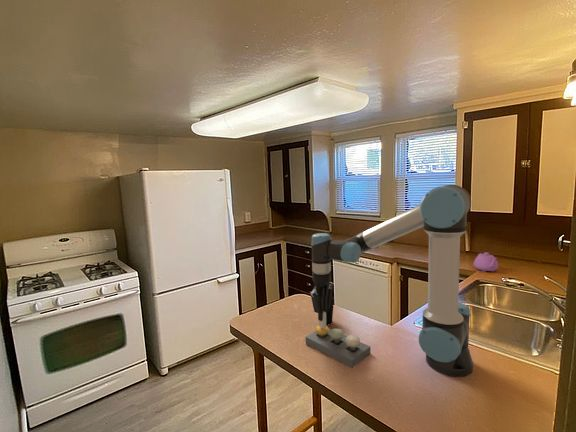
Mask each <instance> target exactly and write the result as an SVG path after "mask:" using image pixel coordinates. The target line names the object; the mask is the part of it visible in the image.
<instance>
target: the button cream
mask: <svg viewBox="0 0 576 432" xmlns="http://www.w3.org/2000/svg"><path fill="white" fill-rule="evenodd" d="M346 336H347V337H346V344H347V345H348V346H350V350H351V351H356V347H357V346H359V345H360V342H361V339H360V337H359V336H357V335H354V334H353V335H352V334H349V335H346Z"/></svg>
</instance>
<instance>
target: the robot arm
mask: <svg viewBox="0 0 576 432" xmlns="http://www.w3.org/2000/svg"><path fill="white" fill-rule="evenodd" d="M471 206H472V199H471V195H470V194H469V192H468V191H467V190H466V189H465V188H464V187H461V186H460V185H456V184H446V185H440V186H436V187H433V188H432V189H430V190H429V191H428V192H427V193H425V194H424V196H423V198H422V199H421V201H420V204H419V205H417V206H414V207H412V208H410V209H408V210H406V211H404V212H402V213H400V214H398V215H396V216H393V217H392V218H389V219H388V220H384V222H381V223H379V224H377V225H375V226H373V227H371V228H368V229H366V230H365V231H362V232H359V233H358V234H356V235H354V236H352V237H349V238H347V239H344V240H334V239H331V235H330V234H329V233H327V232H325V233H323V232H321V233H320V232H318V233H314V234H312V235H311V244H310V246H311V267H312V268H311V271H312V273H311V274H312V275H311V277H312V282H313V289H312V291H309V296H310V298H311V302H312V307H313V308H312V309H313V312H314V313H317V316H318V318H317V319H318V325H319V327H322V328H326V326H327V325H326V318H327V312H329V310H328V309H330V305H331V297H332V296H333V290H334V288H335V287H334V285H333V284H331V281H332V272H331V271H332V261H331V260H333V261H339V262H344V263H347V264H348V263H349V264H350V263H353V264H354V263H355V264H356V263H357V262H358V261H359V260H360V259H361V254H364V253H365V252H369V251H370V250H372V249H375V248H378V247H379V246H382V245H384V244H387V243H388V242H391V241H392V240H395V239H398V238H401V237H403V236H405V235H407V234H410V233H411V232H414V231H417V230H419V229H421V228H423V231H424V232H425V233H426V234H427V235H428V271H427V272H428V276H427V277H428V278H427V279H428V280H427V281H428V283H427V307H426V308H425V309H423V311H422V327H421V328H422V329H421V330H420V332H419V334H418V344H419V346H420V349H421V350H422V351H423V353H424V354H425V361H426V363H427V365H428V366H429V367H431V368H432V369H433V370H434V371H436V372H438V373H441V374H443V375H447V376H452V377H456V378H457V377H467V376H469V375H471V374H472V373H473V371H474V361H473V358H472V355H471V351H470V348H469V341H470V340H469V339H470V338H469V337H470V321H471V320H470V318H471V308H470V307H469V305H467V304H465V303H462V302H461V301H459V299H460V298H459V295H460V293H459V292H460V260H461V259H460V257H461V256H460V255H461V253H460V252H461V237H462V236H463V235H464V234H465V233H466V232H467V215H468V212H470V209H471ZM327 304H328V305H327Z"/></svg>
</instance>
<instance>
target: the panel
mask: <svg viewBox="0 0 576 432" xmlns="http://www.w3.org/2000/svg"><path fill="white" fill-rule="evenodd" d="M331 330H332V328H329V333H328V334H327V335H325V338H321V337H320V336H319V335H318V334H317V333H316V330H315V331H314V332H312V333H309V334H308V335H306V336H305V344H306V345H307V346H309V347H312V348H313V349H315V350H317V351H319V352H321V353H322V354H325V355H326V356H329V357H330V358H332V359H335V360H336V361H339V363H343V364H345V365H346V366H348V367H350V368H354V367H356V366H357V365H358V364H359V363H361V361H363V360H364V359H366V358H367V357H368V356H370V355H371V350H372V349H371V346H370V345H368V344H366V343H364V342H361V341H360V345H359V346H357V347H356V351H351V350H350V346H348V345H347V344H346V337H347V336H348V335H345V334H343V338H342V339H340V343H338V344H336V343H334V339H333V338H331V337H330V331H331Z"/></svg>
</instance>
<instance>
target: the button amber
mask: <svg viewBox="0 0 576 432" xmlns="http://www.w3.org/2000/svg"><path fill="white" fill-rule="evenodd" d="M328 326H329V325H326V328H322V327H319V324H318V325H316V327H315V331H316V333H317V334H318V335H319V336H320V337H321V338H325V335H327V334H328V333H329V329H330V328H329V327H328Z"/></svg>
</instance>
